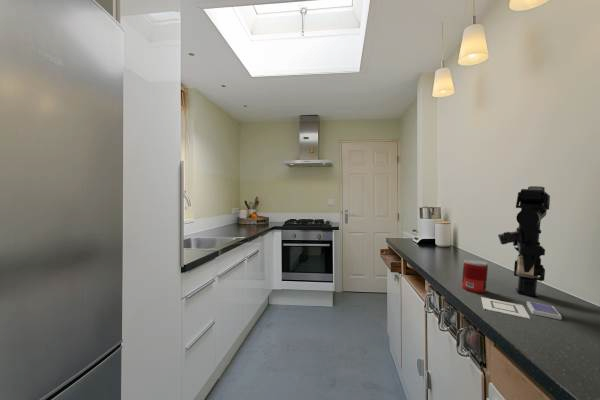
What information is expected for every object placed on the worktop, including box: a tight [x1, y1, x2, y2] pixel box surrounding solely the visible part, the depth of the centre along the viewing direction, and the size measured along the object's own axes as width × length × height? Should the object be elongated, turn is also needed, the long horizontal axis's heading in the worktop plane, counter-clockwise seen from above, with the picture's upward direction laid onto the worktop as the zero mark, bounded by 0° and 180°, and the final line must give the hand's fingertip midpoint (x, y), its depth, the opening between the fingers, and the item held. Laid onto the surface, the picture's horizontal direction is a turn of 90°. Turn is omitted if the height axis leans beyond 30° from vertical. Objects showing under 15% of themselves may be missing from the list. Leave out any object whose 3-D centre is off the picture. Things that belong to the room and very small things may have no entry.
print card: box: [480, 296, 531, 320], centre depth 96 cm, size 12×12×1 cm
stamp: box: [516, 255, 534, 278], centre depth 100 cm, size 4×4×7 cm
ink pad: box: [526, 300, 562, 321], centre depth 94 cm, size 9×7×1 cm
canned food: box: [461, 259, 489, 294], centre depth 113 cm, size 8×8×11 cm
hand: (525, 270), depth 100 cm, fingers closed on stamp, 4 cm apart
